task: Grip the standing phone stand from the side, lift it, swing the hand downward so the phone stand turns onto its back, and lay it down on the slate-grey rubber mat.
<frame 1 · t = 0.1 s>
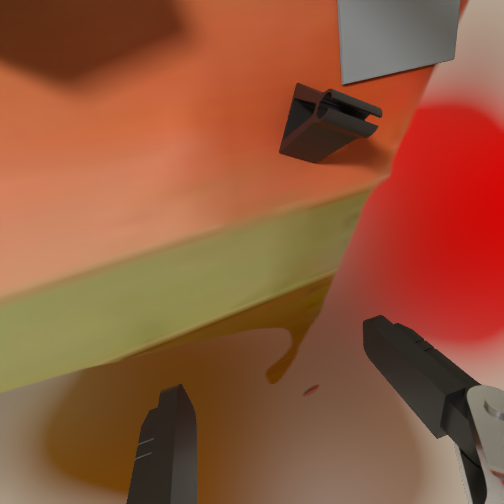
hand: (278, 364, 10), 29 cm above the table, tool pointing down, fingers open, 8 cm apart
phone stand: (305, 126, 35), on the table
mat: (399, 19, 32), on the table
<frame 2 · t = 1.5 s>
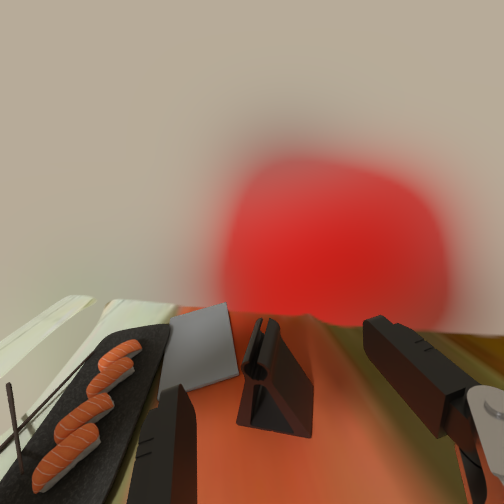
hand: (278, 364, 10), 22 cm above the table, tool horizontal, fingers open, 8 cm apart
phone stand: (276, 406, 31), on the table
sushi plate: (59, 413, 37), on the table
mat: (199, 342, 43), on the table
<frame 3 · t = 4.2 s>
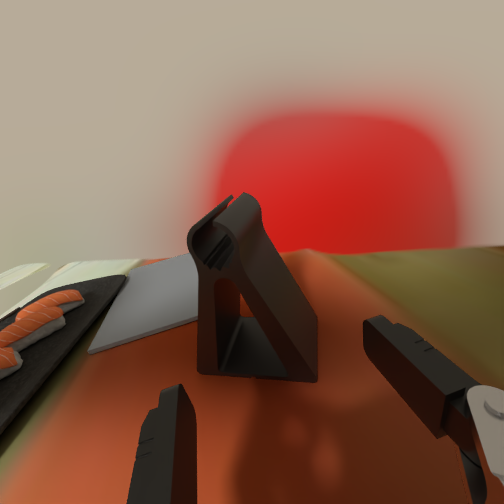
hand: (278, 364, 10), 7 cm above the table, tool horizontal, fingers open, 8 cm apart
phone stand: (262, 347, 20), on the table
mat: (162, 289, 32), on the table
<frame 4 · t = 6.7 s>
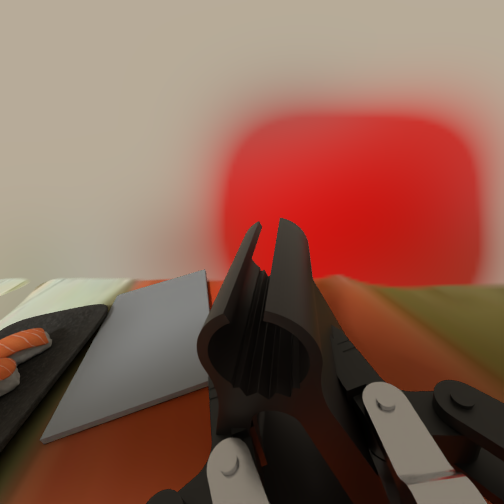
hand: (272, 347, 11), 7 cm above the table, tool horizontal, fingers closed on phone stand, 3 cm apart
phone stand: (305, 453, 13), on the table, touching gripper
mat: (153, 327, 25), on the table
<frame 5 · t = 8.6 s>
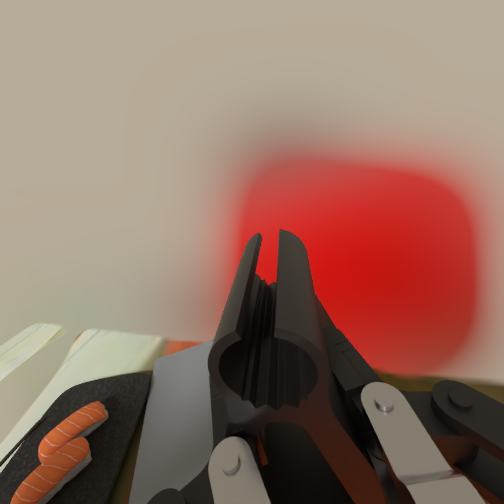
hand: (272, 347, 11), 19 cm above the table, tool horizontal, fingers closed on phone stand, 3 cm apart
phone stand: (307, 458, 13), point 12 cm above the table, touching gripper
mat: (193, 401, 30), on the table
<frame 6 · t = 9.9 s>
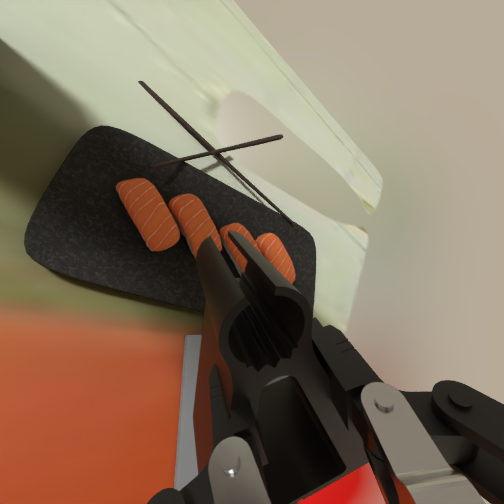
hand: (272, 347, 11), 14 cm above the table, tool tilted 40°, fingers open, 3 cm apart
phone stand: (275, 439, 14), point 10 cm above the table, touching gripper
sushi plate: (225, 192, 30), on the table
mat: (264, 393, 25), on the table
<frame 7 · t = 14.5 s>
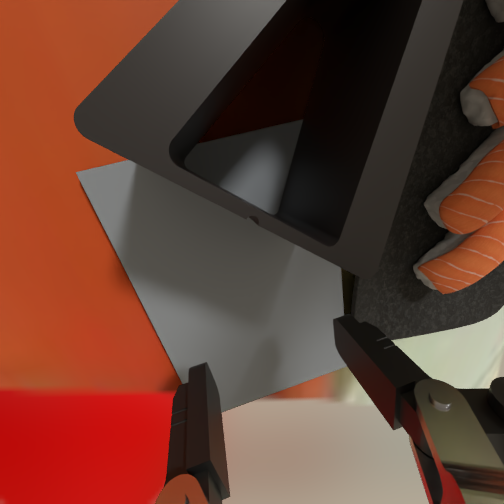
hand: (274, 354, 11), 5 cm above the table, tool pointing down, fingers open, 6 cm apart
phone stand: (234, 212, 9), point 4 cm above the table, touching mat
mat: (250, 293, 15), on the table
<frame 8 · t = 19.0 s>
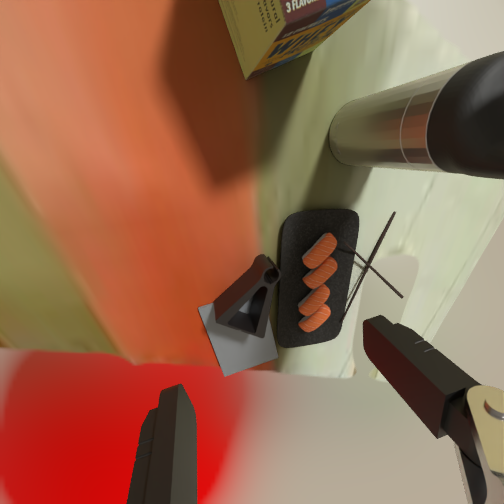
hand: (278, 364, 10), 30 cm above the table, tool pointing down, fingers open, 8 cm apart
phone stand: (236, 321, 42), point 4 cm above the table, touching mat
sushi plate: (346, 276, 49), on the table
mat: (241, 333, 47), on the table
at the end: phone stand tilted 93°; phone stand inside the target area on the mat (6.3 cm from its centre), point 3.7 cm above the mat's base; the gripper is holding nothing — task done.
